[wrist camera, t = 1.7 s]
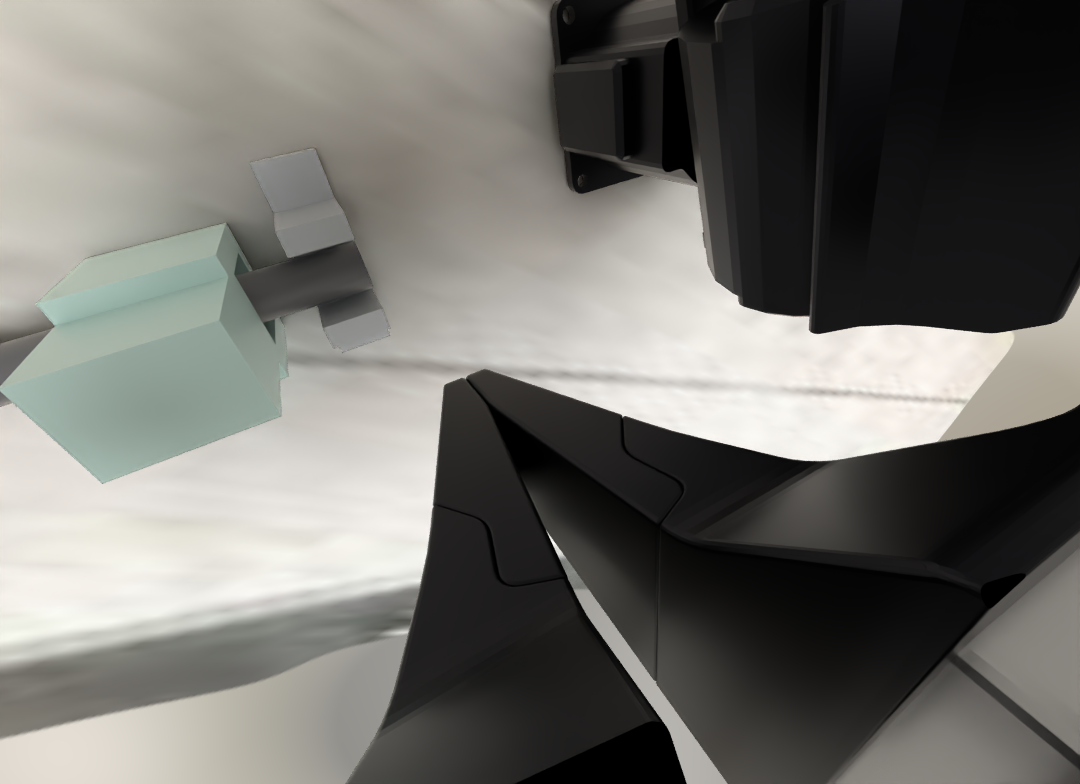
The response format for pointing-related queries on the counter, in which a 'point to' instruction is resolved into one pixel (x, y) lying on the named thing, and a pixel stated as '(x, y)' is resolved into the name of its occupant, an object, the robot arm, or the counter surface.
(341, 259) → the grey angular piece
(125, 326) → the mint stepped block
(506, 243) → the counter surface
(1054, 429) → the robot arm
